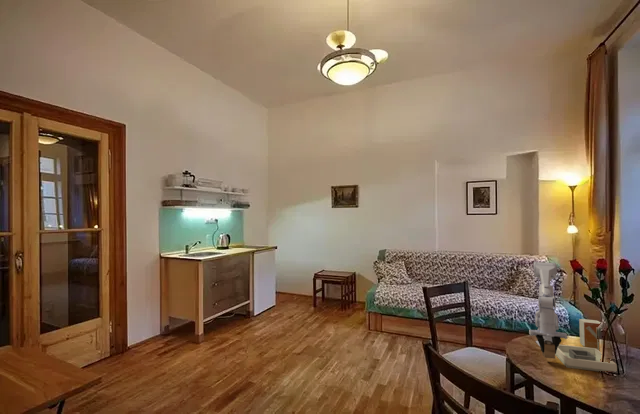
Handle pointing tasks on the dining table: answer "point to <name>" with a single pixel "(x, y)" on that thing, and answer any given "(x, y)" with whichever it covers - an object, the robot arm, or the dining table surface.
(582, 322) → the small box
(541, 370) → the dining table surface
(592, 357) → the cream square tray
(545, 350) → the peg
